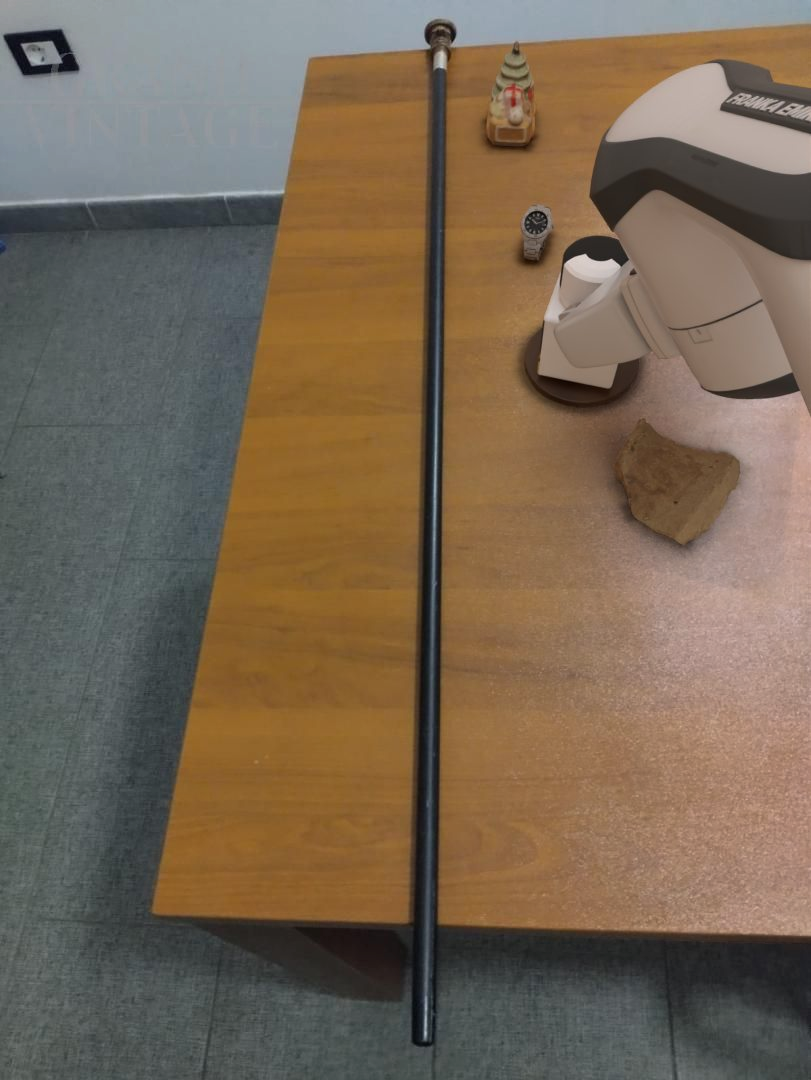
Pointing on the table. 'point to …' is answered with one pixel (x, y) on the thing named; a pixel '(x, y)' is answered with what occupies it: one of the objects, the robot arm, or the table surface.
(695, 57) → the table surface
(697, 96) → the robot arm
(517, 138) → the ornament
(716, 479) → the pottery shard
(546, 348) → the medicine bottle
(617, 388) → the round disc
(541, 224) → the wristwatch
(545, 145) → the table surface
